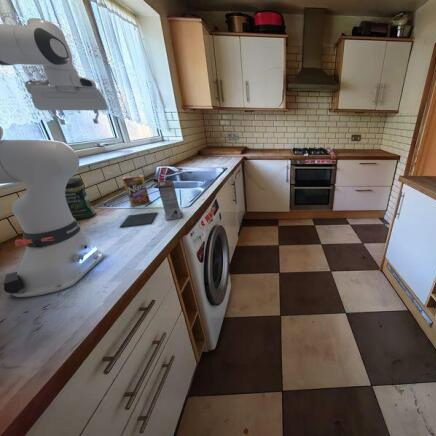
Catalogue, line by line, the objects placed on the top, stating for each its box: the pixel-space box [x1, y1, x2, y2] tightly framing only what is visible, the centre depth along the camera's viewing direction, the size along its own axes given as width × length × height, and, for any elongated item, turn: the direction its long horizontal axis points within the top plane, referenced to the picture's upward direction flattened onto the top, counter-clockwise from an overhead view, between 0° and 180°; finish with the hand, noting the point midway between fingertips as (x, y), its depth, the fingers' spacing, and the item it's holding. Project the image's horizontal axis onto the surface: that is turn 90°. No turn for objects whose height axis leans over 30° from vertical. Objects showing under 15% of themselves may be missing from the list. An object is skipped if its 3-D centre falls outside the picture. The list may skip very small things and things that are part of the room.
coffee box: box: [156, 179, 182, 221], centre depth 106 cm, size 9×6×16 cm
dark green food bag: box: [65, 177, 96, 220], centre depth 104 cm, size 10×8×19 cm
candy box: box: [122, 174, 151, 207], centre depth 119 cm, size 9×4×15 cm, turn 123°
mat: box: [119, 212, 158, 228], centre depth 105 cm, size 12×12×1 cm
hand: (80, 124), depth 85 cm, fingers open, 8 cm apart
